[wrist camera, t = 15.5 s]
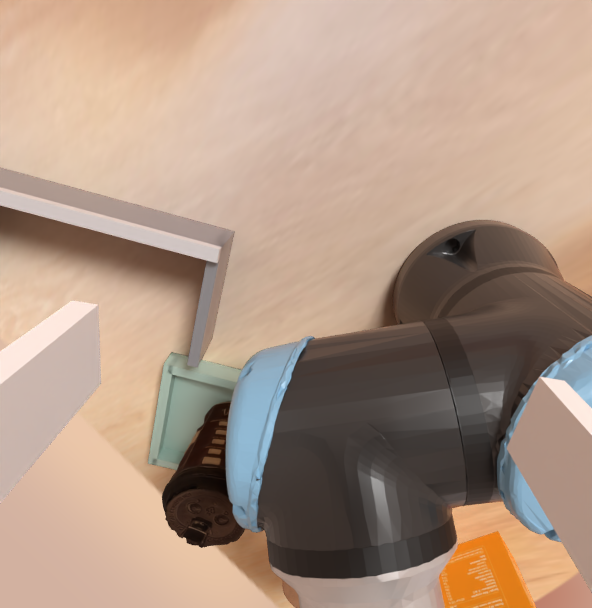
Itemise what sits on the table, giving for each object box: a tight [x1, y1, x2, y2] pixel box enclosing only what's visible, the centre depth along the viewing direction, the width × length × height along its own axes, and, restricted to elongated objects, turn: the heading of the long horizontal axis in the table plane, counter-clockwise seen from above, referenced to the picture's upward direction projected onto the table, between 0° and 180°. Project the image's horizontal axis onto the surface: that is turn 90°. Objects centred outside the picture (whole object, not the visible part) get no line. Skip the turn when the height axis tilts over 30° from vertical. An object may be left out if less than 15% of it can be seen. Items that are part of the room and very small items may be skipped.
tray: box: [148, 352, 242, 470], centre depth 48 cm, size 13×14×2 cm
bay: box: [0, 168, 235, 368], centre depth 39 cm, size 24×12×7 cm, turn 75°
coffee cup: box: [162, 402, 245, 548], centre depth 42 cm, size 9×8×13 cm
